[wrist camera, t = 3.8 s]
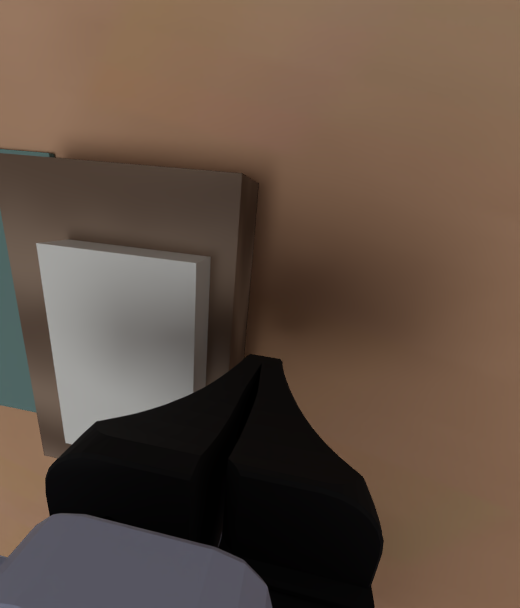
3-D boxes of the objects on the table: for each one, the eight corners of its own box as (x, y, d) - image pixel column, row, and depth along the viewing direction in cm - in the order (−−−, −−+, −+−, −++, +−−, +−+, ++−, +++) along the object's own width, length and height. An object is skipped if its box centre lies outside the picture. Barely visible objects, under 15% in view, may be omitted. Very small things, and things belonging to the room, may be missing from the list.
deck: (236, 443, 18) (220, 495, 15) (89, 413, 19) (44, 455, 16) (258, 183, 13) (242, 173, 10) (62, 165, 14) (-10, 152, 11)
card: (203, 444, 14) (191, 470, 12) (89, 420, 15) (65, 443, 13) (210, 256, 11) (196, 263, 10) (68, 239, 12) (36, 243, 10)
